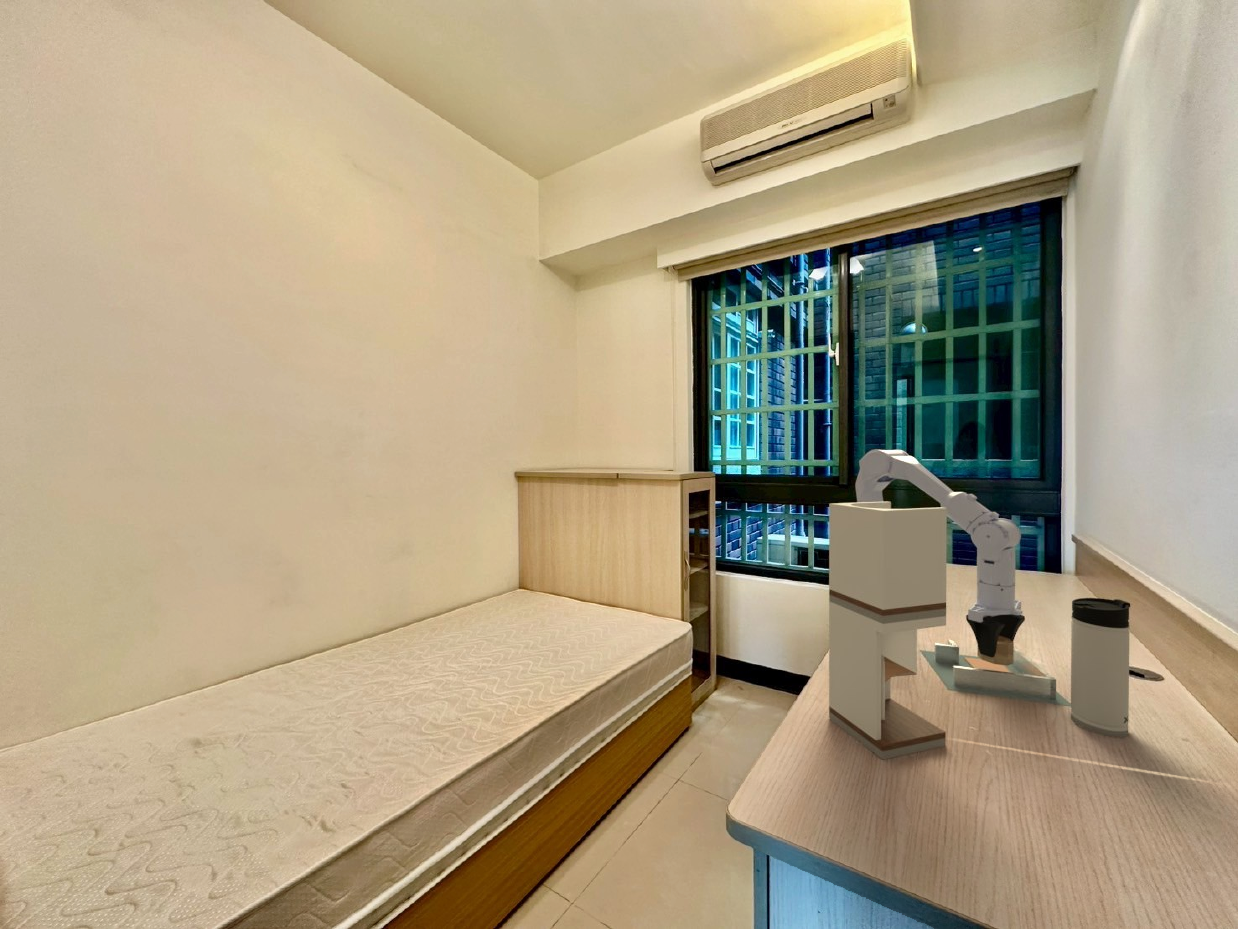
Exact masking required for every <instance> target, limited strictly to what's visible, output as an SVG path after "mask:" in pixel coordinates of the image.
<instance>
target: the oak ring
mask: <svg viewBox="0 0 1238 929" xmlns="http://www.w3.org/2000/svg"><path fill="white" fill-rule="evenodd" d="M1014 644H1015V642H1014V641H1011V640H1010V639H1009V638H1006V637H1002V636H999V637H998V641H997V648H996V653H995V656H994V657H989V656H986V655H983V654H980V651H979V648H978V647H977V651H976V652H977V657H980V658H981V659H982V660H984V661H987V662H990V663H993V664H998V665H1011V664H1013V660H1014V646H1015V645H1014Z"/></svg>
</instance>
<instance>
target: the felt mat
mask: <svg viewBox="0 0 1238 929" xmlns="http://www.w3.org/2000/svg"><path fill="white" fill-rule="evenodd" d="M919 651H920V653H921V654H922V655H923V657H924V658H925V660H926V661H927V663H928V664H929V666H930V667H931V668H932V669H933V671H934V672H935V674H936V676H938V678H939V679H940V681H941V682H942V683H943V685H944V686H945V688H946V689H947V690H948V691H955V692H961V693H967V694H968V693H969V694H975V695H976V694H977V695H982V696H990V697H999V698H1006V699H1015V700H1019V701H1020V700H1021V701H1028V702H1033V703H1034V702H1037V703H1043V704H1049V705H1058V706H1064V707H1071V701H1070V702H1069V700H1067V699H1066V698H1065V697H1064V696H1063V695H1061V693H1059V692H1058V691H1057V690H1056V700H1053V699H1045V698H1038V697H1030V696H1023V695H1015V694H1008V693H1000V692H993V691H985V690H978V689H970V688H963V687H955V686H954V685H953V666H961V667H969V668H972V667H971V666H970V664H969V663H968V662H967V661H966V660H965V659H964V657H966V658H975V659H981V658H980V657H979V656H975V655H965V654H959V664H951V663H943V662H936V661H935V651H931V650H923V649H920V650H919ZM1004 666H1005V667H1006V668H1007V669H1008V670H1009V671H1010V672H1011V673H1019V674H1022V673H1021V672H1019V671H1018V670H1017V669H1016V668H1015V667H1014V666H1013V665H1012V664H1011V665H1004Z"/></svg>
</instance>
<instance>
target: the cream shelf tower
mask: <svg viewBox="0 0 1238 929" xmlns="http://www.w3.org/2000/svg"><path fill="white" fill-rule="evenodd" d="M828 508H829V509H828V511H829V512H828V514H829V515H828V518H829V519H828V522H829V523H828V524H829V525H828V526H829V527H828V533H829V534H828V538H829V539H828V542H829V543H828V548H829V549H828V551H829V552H828V553H829V555H828V559H829V561H828V563H829V564H828V566H829V568H828V570H829V571H828V572H829V573H828V576H829V577H828V578H829V579H828V585H829V586H828V588H829V589H828V593H829V594H828V596H829V598H828V603H829V604H828V606H829V607H828V608H829V609H828V615H829V616H828V621H829V622H828V623H829V625H828V628H829V630H828V632H829V634H828V651H829V652H828V657H829V658H828V660H829V661H828V668H829V669H828V672H829V673H828V676H829V677H828V691H829V692H828V706H829V707H828V719H829V718H830V719H831V720H830V719H829V720H830V721H831V722H833V721H834V722H835V723H834V722H833V723H834V724H836V726H838V727H839V726H840V729H842V730H843V729H844V730H843V731H844V732H846V731H847V732H848V733H847V732H846V733H847V734H849V735H850V736H851V737H852V736H853V738H854V739H855V740H857V742H859V741H860V742H861V743H862V744H861V743H860V742H859V743H860V744H861V745H863V746H864V747H865V746H866V749H867V750H870V751H871V752H872V753H873V752H874V753H875V754H874V753H873V754H874V755H876V756H877V757H879V758H880V759H881V760H883V759H884V760H888V759H891V758H897V757H901V756H905V755H906V756H907V755H910V754H915V753H919V752H924V751H928V750H929V751H930V750H933V749H937V748H943V747H946V744H947V743H946V740H947V739H946V738H947V736H946V735H947V734H946V733H947V732H946V731H944V730H943V729H942V728H940V727H938V726H937V725H935V724H933V723H932V722H930V721H928V720H927V719H925V718H923V717H922V716H920V715H918V714H917V713H915V712H913V711H912V710H910V709H908V708H907V707H905V706H904V705H902V704H900V703H898V702H897V701H896V700H894V699H892V698H891V679H892V678H895V677H905V676H916V675H917V674H918V673H917V672H918V670H917V669H918V668H917V667H918V663H917V662H918V655H917V654H918V644H917V643H918V630H921V629H923V630H924V629H931V628H937V627H944V626H947V547H948V546H947V545H948V543H947V531H948V530H947V528H948V527H947V523H948V522H947V519H948V517H947V508H942V507H941V506H940V507H920V508H919V507H918V508H916V507H915V508H892V502H891V501H887V500H886V501H883V502H859V503H857V502H838V503H835V502H834V503H829V507H828Z"/></svg>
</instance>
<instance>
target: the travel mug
mask: <svg viewBox="0 0 1238 929" xmlns="http://www.w3.org/2000/svg"><path fill="white" fill-rule="evenodd" d="M1130 608H1131V603H1130V602H1128V601H1125V600H1122V599H1119V598H1118V599H1108V598H1099V597H1098V598H1097V597H1081V598H1076V599H1073V600H1072V602H1071V611H1072V613H1071V625H1070V626H1071V628H1070V629H1071V630H1070V632H1071V634H1070V635H1071V636H1070V637H1071V638H1070V640H1071V641H1070V642H1071V644H1070V646H1071V648H1070V660H1071V661H1070V703H1071V706H1070V720H1071V721H1072V722H1073V723H1074V724H1076V725H1077V726H1079V727H1080V728H1082V729H1085V730H1087V731H1089V732H1093V733H1094V734H1098V735H1102V736H1106V737H1110V738H1119V739H1120V738H1126V737H1128V736H1129V721H1130V720H1129V718H1130V717H1129V710H1130V708H1129V706H1130V705H1129V703H1130V702H1129V700H1130V699H1129V698H1130V696H1129V695H1130V689H1129V688H1130V627H1131V626H1130V622H1129V620H1130Z"/></svg>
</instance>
